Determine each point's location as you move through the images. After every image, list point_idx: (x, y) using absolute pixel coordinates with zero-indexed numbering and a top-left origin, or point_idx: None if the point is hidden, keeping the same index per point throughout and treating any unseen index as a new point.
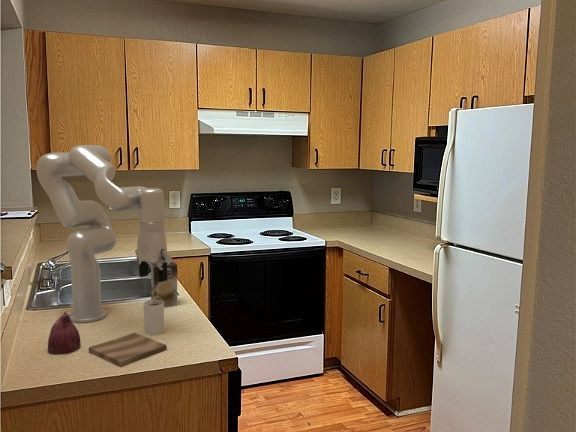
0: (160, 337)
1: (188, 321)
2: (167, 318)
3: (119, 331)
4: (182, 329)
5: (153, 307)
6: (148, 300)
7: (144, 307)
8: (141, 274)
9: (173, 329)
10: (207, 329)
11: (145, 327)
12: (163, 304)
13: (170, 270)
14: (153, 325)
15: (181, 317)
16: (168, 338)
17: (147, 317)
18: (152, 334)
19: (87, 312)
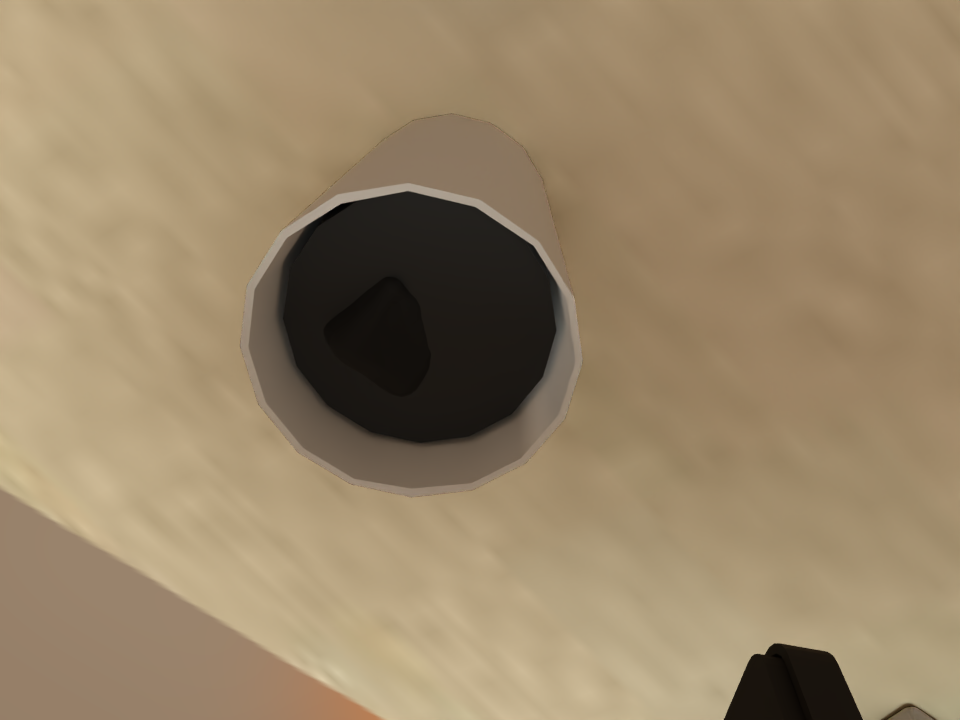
0: (273, 117)
1: (369, 575)
2: (600, 555)
3: (827, 21)
4: None
5: (296, 218)
6: (568, 399)
7: (473, 186)
8: (771, 713)
9: None
10: (75, 498)
11: (492, 136)
12: (266, 395)
13: None
14: (366, 157)
15: (499, 623)
16: (182, 138)
17: (425, 148)
18: (398, 130)
19: None
